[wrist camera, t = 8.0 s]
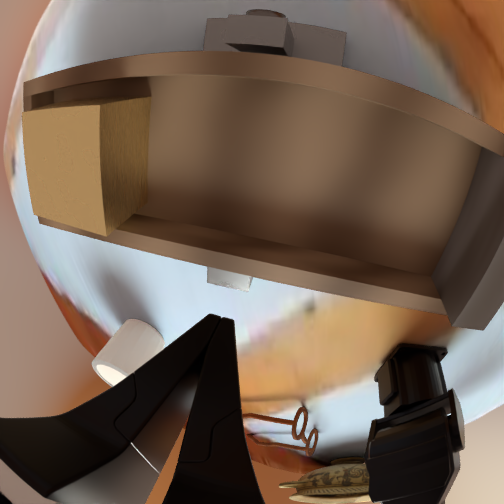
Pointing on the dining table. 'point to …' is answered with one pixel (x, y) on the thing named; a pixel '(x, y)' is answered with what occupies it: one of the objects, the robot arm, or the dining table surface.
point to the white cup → (127, 351)
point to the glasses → (294, 423)
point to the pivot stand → (276, 43)
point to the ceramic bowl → (333, 483)
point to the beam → (309, 178)
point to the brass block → (88, 160)
